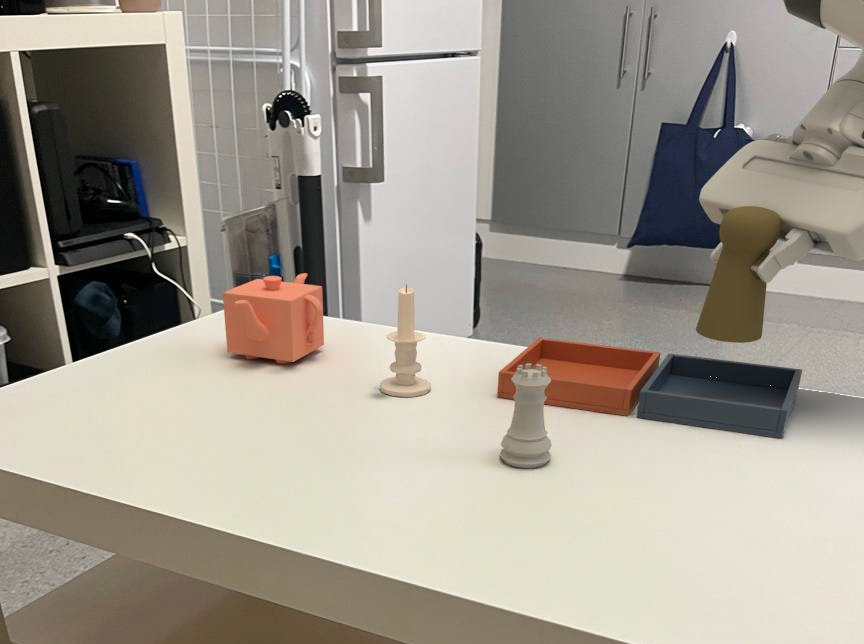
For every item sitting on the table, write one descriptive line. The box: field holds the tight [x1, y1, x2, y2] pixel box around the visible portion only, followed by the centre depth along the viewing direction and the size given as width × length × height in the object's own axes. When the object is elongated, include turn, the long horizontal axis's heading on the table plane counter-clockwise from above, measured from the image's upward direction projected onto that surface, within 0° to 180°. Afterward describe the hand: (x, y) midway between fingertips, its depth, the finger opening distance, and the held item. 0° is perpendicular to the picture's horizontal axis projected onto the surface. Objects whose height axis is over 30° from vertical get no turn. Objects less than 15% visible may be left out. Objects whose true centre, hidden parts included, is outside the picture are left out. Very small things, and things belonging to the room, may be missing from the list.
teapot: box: [222, 272, 325, 364], centre depth 112 cm, size 12×15×8 cm
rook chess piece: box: [499, 364, 552, 469], centre depth 85 cm, size 4×4×8 cm
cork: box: [695, 206, 781, 344], centre depth 92 cm, size 6×6×11 cm
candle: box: [379, 283, 432, 398], centre depth 101 cm, size 5×5×10 cm
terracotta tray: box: [497, 337, 661, 417], centre depth 103 cm, size 13×13×3 cm
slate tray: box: [636, 353, 803, 439], centre depth 98 cm, size 13×13×3 cm
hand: (737, 270), depth 92 cm, fingers closed on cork, 4 cm apart
